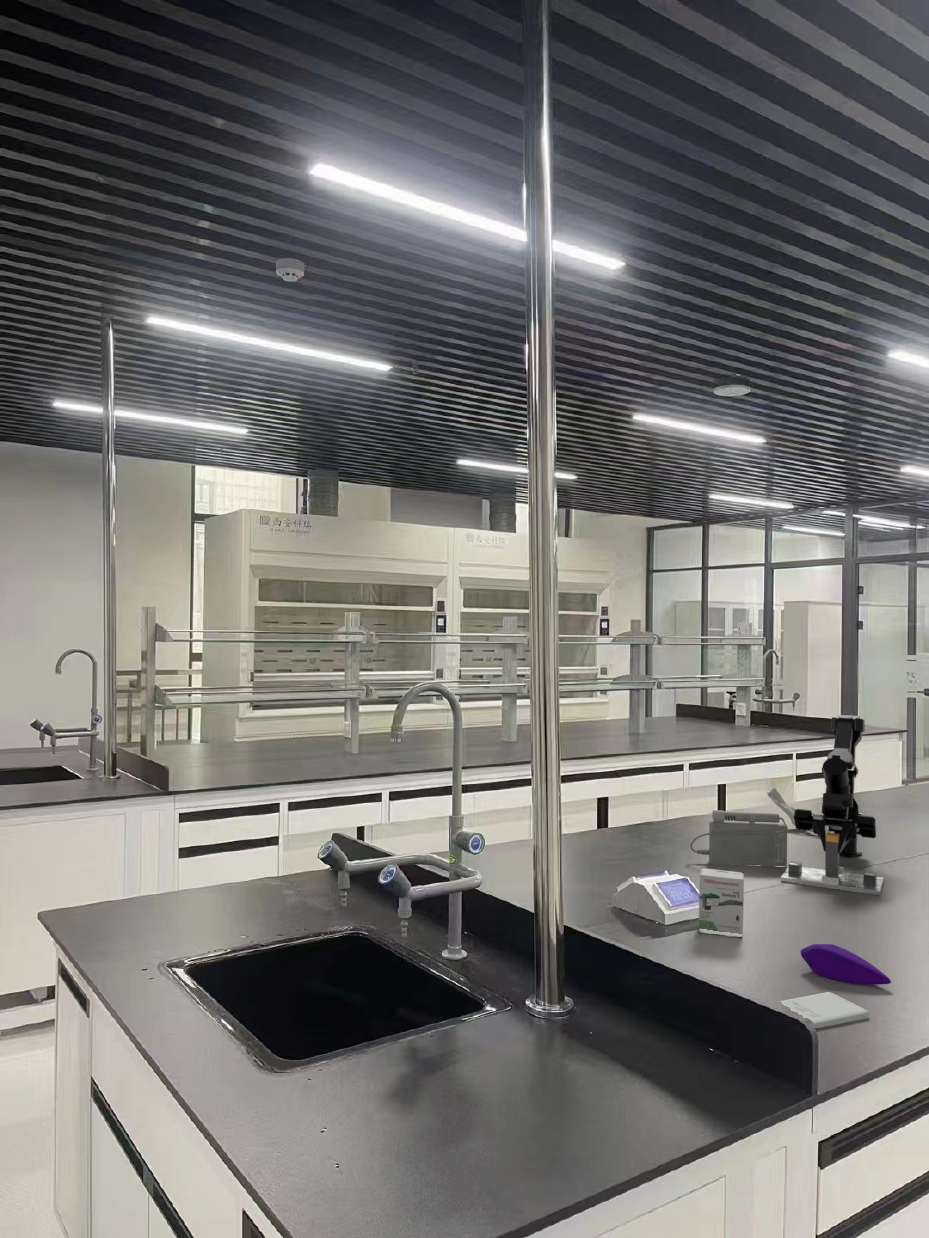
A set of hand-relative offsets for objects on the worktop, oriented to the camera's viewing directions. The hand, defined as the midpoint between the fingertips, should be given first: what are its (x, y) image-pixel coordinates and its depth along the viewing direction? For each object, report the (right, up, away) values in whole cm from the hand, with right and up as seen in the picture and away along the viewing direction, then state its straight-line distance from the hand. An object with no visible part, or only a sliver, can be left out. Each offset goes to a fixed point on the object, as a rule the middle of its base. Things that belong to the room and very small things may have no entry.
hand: (831, 851), depth 210 cm
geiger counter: (-18, -8, +16) cm, 25 cm away
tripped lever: (+1, -6, +1) cm, 6 cm away
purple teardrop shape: (-24, -6, -62) cm, 66 cm away
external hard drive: (-35, -5, -76) cm, 84 cm away
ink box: (-39, -6, -39) cm, 55 cm away
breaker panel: (+1, -8, +1) cm, 8 cm away
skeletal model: (+18, -10, +61) cm, 65 cm away
